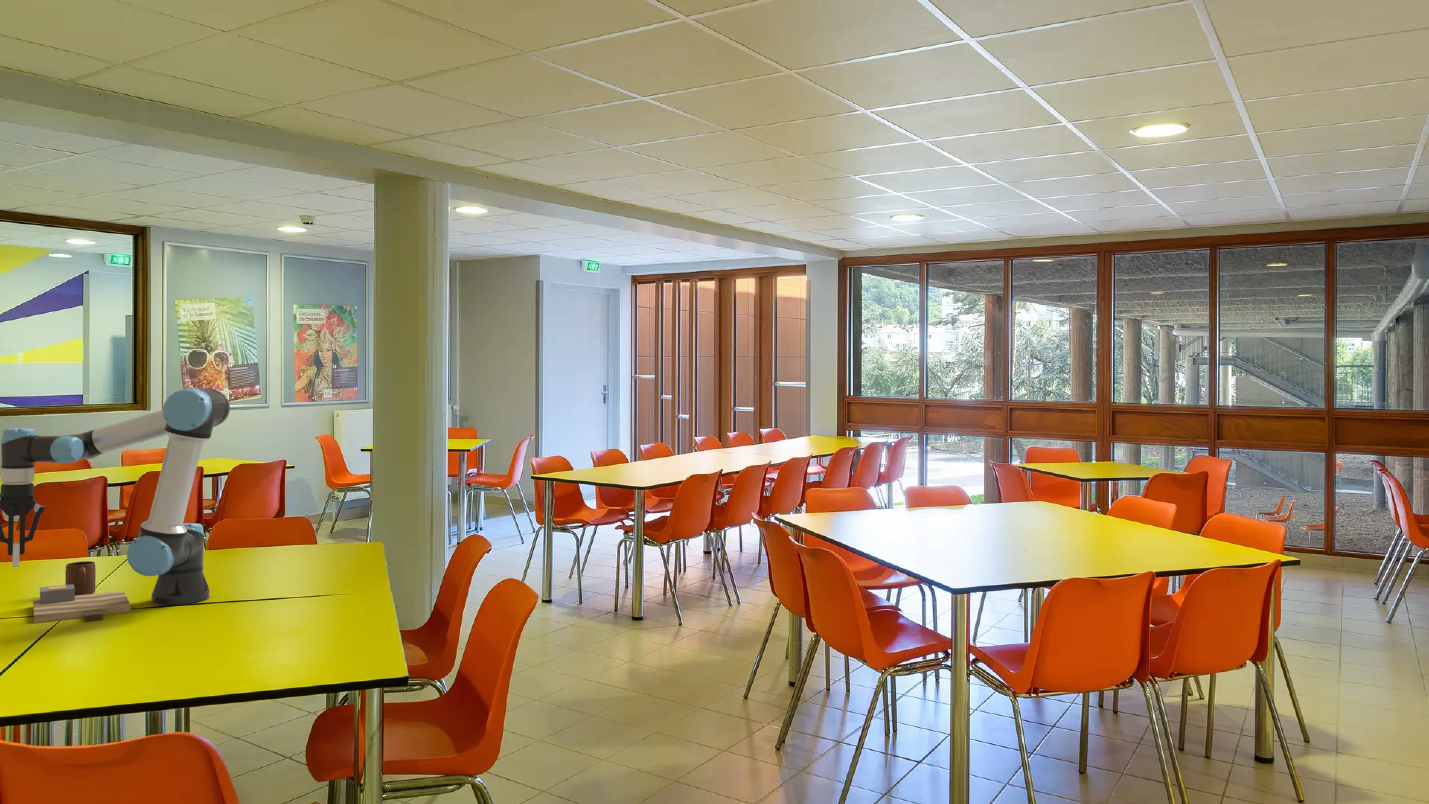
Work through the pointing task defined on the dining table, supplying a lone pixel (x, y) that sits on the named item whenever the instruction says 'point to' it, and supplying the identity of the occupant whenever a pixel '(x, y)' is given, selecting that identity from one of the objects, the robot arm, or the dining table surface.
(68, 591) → the grey rectangular block
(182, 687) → the dining table surface
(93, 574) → the mug
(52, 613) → the board
